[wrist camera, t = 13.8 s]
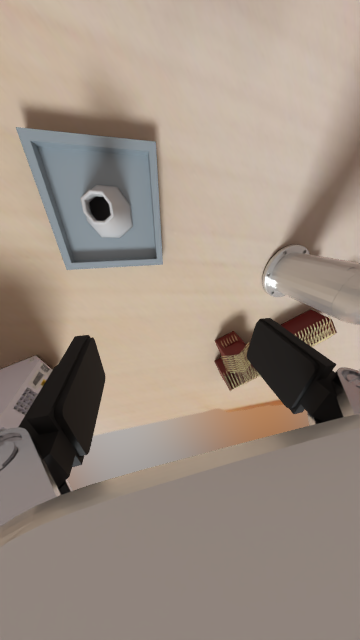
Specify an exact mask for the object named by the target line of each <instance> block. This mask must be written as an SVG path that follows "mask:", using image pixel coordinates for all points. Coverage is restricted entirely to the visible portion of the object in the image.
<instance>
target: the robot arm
mask: <svg viewBox="0 0 360 640" xmlns="http://www.w3.org/2000/svg"><path fill="white" fill-rule="evenodd" d="M262 282H263V288H264V290H265V291H266V292H267V293H268V294H269V295H271V296H274V297H282V296H285V295H286V296H289V297H291V298H293V299H295V300H297V301H300V302H302V303H304V304H306V305H308V306H310V307H313V308H315V309H317V310H319V311H321V312H324V313H326V314H328V315H330V316H332V317H334V318H337V319H339V320H341V321H344V322H347V323H350V324H357V325H360V263H357V262H351V261H345V260H339V259H333V258H327V257H321V256H315V255H310V253H309V251H308V250H307V249H306V248H305V247H304V246H301V245H289V246H286V247H284V248H282V249H281V250H280V251H278V252H277V253H276V254H275V255H274V256H273V257H272V258H271V260H270V261H269V263H268V264H267V266H266V268H265V270H264V274H263V279H262ZM247 359H248V361H249V362H250V363H251V364H252V366H253V367H254V368H255V369H256V371H257V372H258V373H259V374H260V375H261V377H262V378H263V379H264V380H265V382H266V383H267V384H268V385H269V387H270V388H271V389H272V390H273V392H274V393H275V394H276V395H277V396H278V398H279V399H280V400H281V401H282V403H283V404H284V405H285V406H286V407H287V408H289V409H290V410H291V411H292V413H293V414H297V413H300V412H303V411H304V409H305V410H306V411H307V412H308V420H309V426H307V427H303V428H299V429H295V430H291V431H287V432H284V433H280V434H276V435H272V436H268V437H265V438H261V439H257V440H253V441H249V442H246V443H241V444H238V445H234V446H230V447H227V448H222V449H219V450H215V451H211V452H207V453H204V454H200V455H196V456H192V457H189V458H185V459H181V460H177V461H174V462H170V463H166V464H162V465H159V466H155V467H151V468H147V469H144V470H140V471H137V472H133V473H130V474H126V475H123V476H120V477H116V478H112V479H109V480H106V481H103V482H99V483H95V484H92V485H89V486H86V487H83V488H80V489H77V490H74V491H73V490H72V488H71V486H70V485H69V482H68V480H67V478H68V477H69V476H70V472H71V469H72V467H75V466H79V465H82V462H83V458H84V455H87V454H88V453H89V450H90V446H91V442H92V437H93V433H94V428H95V424H96V419H97V415H98V410H99V406H100V401H101V397H102V392H103V388H104V383H105V373H104V370H103V366H102V363H101V360H100V356H99V353H98V350H97V346H96V343H95V340H94V338H90V336H89V335H84V336H76V337H74V339H73V341H72V342H71V344H70V346H69V347H68V349H67V351H66V353H65V354H64V356H63V358H62V359H61V361H60V363H59V364H58V365H57V366H56V367H55V368H54V369H53V370H52V372H51V374H50V375H49V377H48V379H47V380H46V382H45V383H44V385H43V387H42V388H41V390H40V392H39V393H38V395H37V397H36V398H35V400H34V402H33V403H32V405H31V407H30V408H29V410H28V412H27V413H26V415H25V417H24V418H23V420H22V421H21V423H20V425H19V426H18V427H16V428H10V429H7V430H4V431H1V432H0V640H360V371H357V370H354V369H350V368H339V369H338V370H337V371H336V373H335V372H334V371H332V370H333V368H334V367H335V366H336V364H335V363H333V362H332V361H331V360H329V359H328V358H326V357H325V356H324V355H322V354H321V353H319V352H318V351H316V350H315V349H314V348H312V347H311V346H309V345H308V344H306V343H305V342H304V341H302V340H301V339H299V338H298V337H297V336H295V335H294V334H292V333H291V332H289V331H288V330H287V329H285V328H284V327H282V326H281V325H279V324H278V323H277V322H275V321H274V320H272V319H271V318H265V319H260V320H259V321H258V322H257V323H256V326H255V329H254V332H253V335H252V339H251V342H250V345H249V348H248V351H247Z"/></svg>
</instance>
